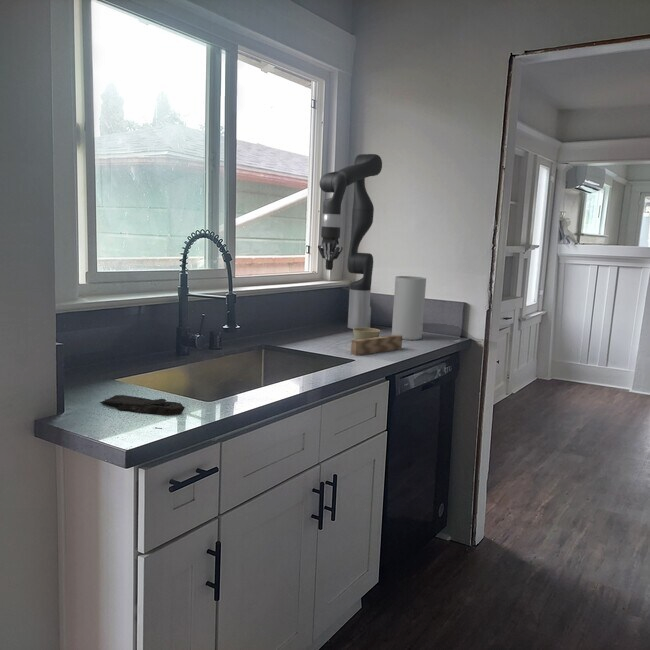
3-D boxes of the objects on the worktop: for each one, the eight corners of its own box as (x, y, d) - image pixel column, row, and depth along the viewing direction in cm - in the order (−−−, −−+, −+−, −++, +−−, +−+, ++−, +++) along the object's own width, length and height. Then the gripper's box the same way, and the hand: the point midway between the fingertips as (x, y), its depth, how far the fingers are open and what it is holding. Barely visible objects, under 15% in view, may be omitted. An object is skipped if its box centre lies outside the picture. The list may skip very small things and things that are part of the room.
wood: (91, 407, 148) (90, 395, 147) (111, 399, 155) (111, 387, 154) (172, 422, 140) (172, 408, 140) (189, 412, 147) (190, 400, 147)
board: (396, 347, 236) (397, 334, 235) (401, 348, 234) (402, 335, 233) (350, 354, 220) (351, 339, 220) (355, 355, 219) (356, 340, 218)
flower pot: (384, 349, 232) (385, 330, 231) (367, 352, 225) (368, 332, 224) (363, 344, 239) (365, 326, 238) (346, 347, 232) (347, 328, 231)
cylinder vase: (389, 334, 265) (393, 275, 260) (418, 335, 265) (422, 276, 261) (393, 339, 252) (398, 278, 248) (424, 341, 253) (429, 279, 249)
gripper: (349, 226, 243) (347, 271, 246) (327, 225, 253) (325, 268, 256) (335, 226, 238) (332, 271, 241) (313, 225, 248) (311, 268, 251)
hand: (328, 269), depth 249 cm, fingers closed
